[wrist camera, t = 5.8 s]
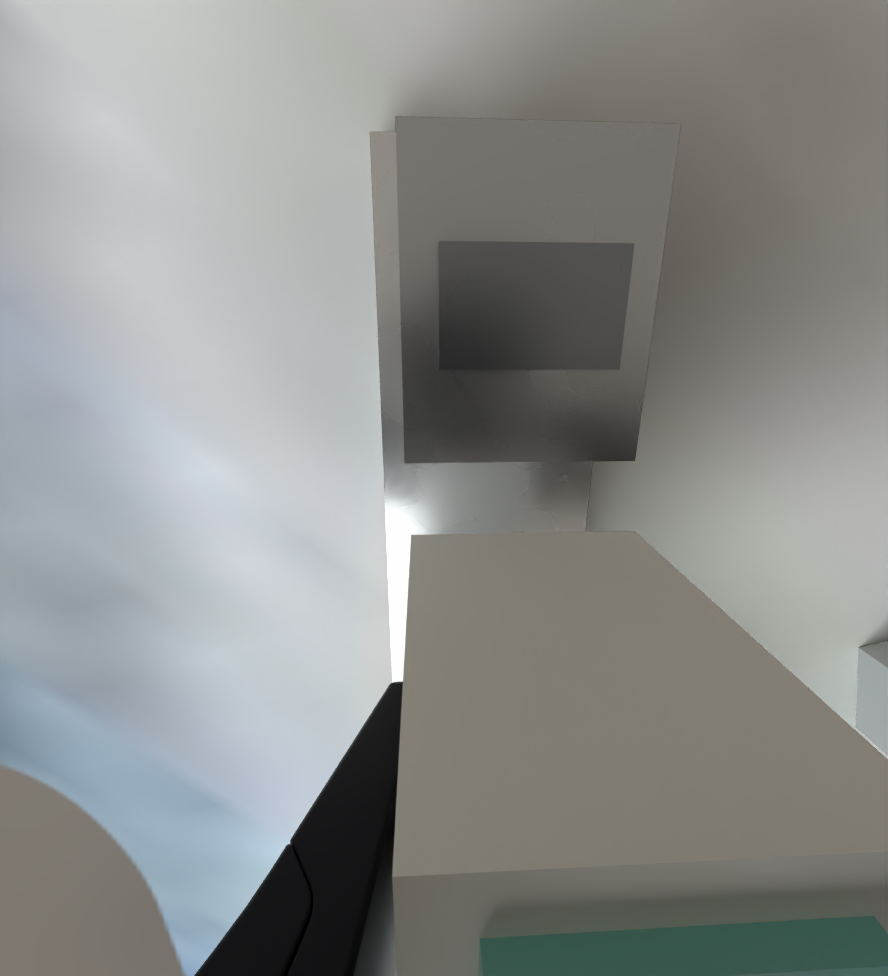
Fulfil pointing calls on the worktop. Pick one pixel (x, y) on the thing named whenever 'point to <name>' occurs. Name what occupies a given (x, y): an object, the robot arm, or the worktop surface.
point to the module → (619, 778)
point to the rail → (510, 319)
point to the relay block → (873, 693)
